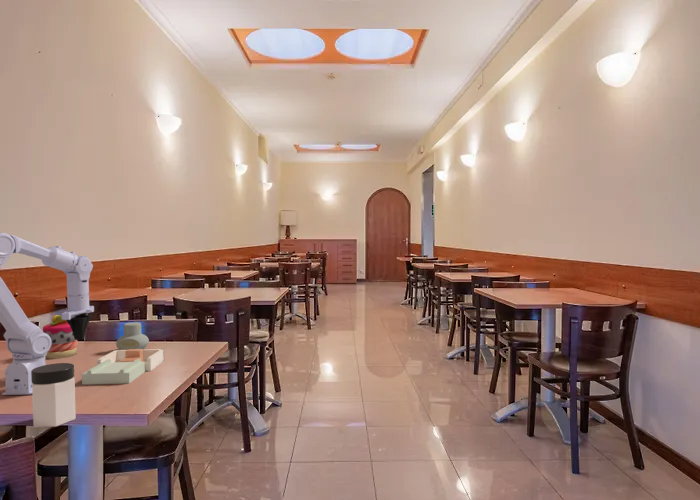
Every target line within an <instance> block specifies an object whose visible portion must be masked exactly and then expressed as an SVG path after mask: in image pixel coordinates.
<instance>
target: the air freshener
mask: <svg viewBox="0 0 700 500" xmlns="http://www.w3.org/2000/svg"><path fill="white" fill-rule="evenodd" d="M115 343H116V344H115V346H116V347H117V350H128V349H143V350H145V348H147V346H148V345H149V343H150V339H149V337H148V336H147V335H146V334H143V333H142V324H141V322H138V321H135V322H126V323H124V324H123V334H122V336H120V337H119V338H118V339H117V340H116V342H115Z"/></svg>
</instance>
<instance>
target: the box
mask: <svg viewBox="0 0 700 500" xmlns="http://www.w3.org/2000/svg"><path fill="white" fill-rule="evenodd" d="M125 351H126V350H119V349H116V350H115V349H114V350H113V351H110V352H109V353H107V354H105V355H103V356H101V357H99V358H97V359H96V361H97V365H98V364H100V363H102V362H104V361H106V360H111V362H119V361H120V360H122V359H124V358H125ZM143 362H146V371H145V372H152V371H153V370H154V369H156V368H157V367H158V366H159V365H161V364H162V363H164V362H165V348H155V349H154V348H153V349H150V348H149V349H145V348H144V349H143ZM97 365H96V366H97Z"/></svg>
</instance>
